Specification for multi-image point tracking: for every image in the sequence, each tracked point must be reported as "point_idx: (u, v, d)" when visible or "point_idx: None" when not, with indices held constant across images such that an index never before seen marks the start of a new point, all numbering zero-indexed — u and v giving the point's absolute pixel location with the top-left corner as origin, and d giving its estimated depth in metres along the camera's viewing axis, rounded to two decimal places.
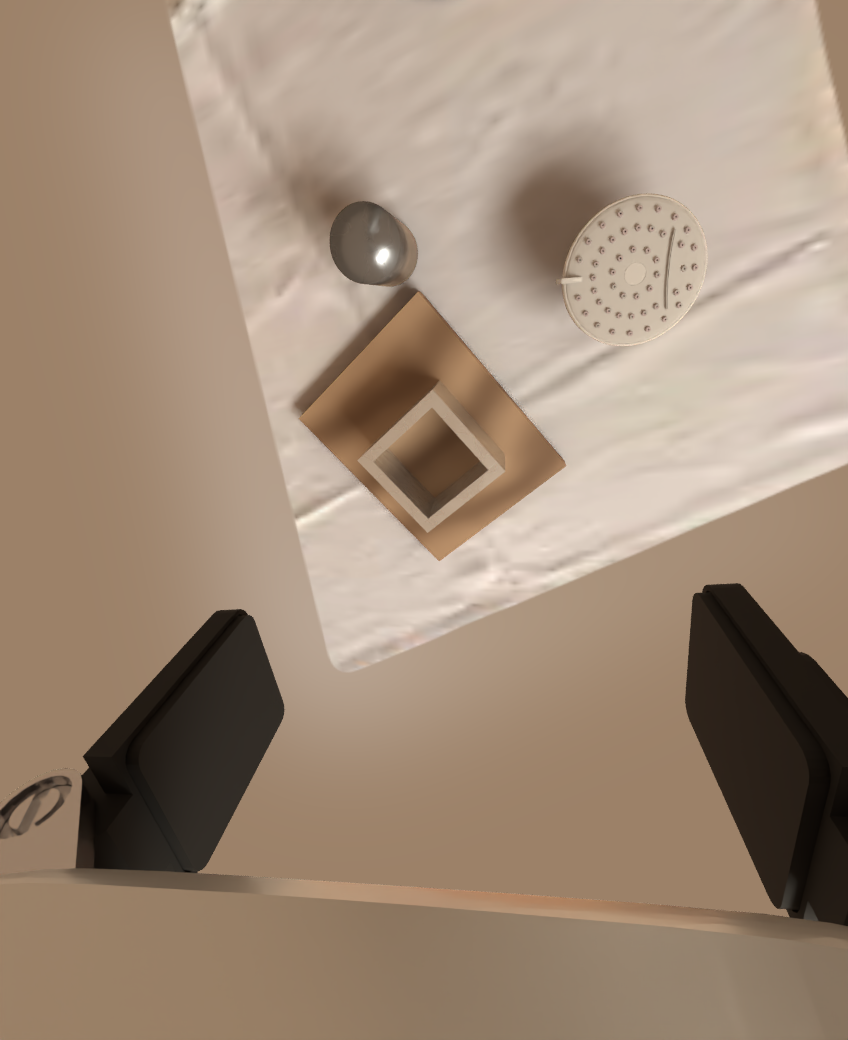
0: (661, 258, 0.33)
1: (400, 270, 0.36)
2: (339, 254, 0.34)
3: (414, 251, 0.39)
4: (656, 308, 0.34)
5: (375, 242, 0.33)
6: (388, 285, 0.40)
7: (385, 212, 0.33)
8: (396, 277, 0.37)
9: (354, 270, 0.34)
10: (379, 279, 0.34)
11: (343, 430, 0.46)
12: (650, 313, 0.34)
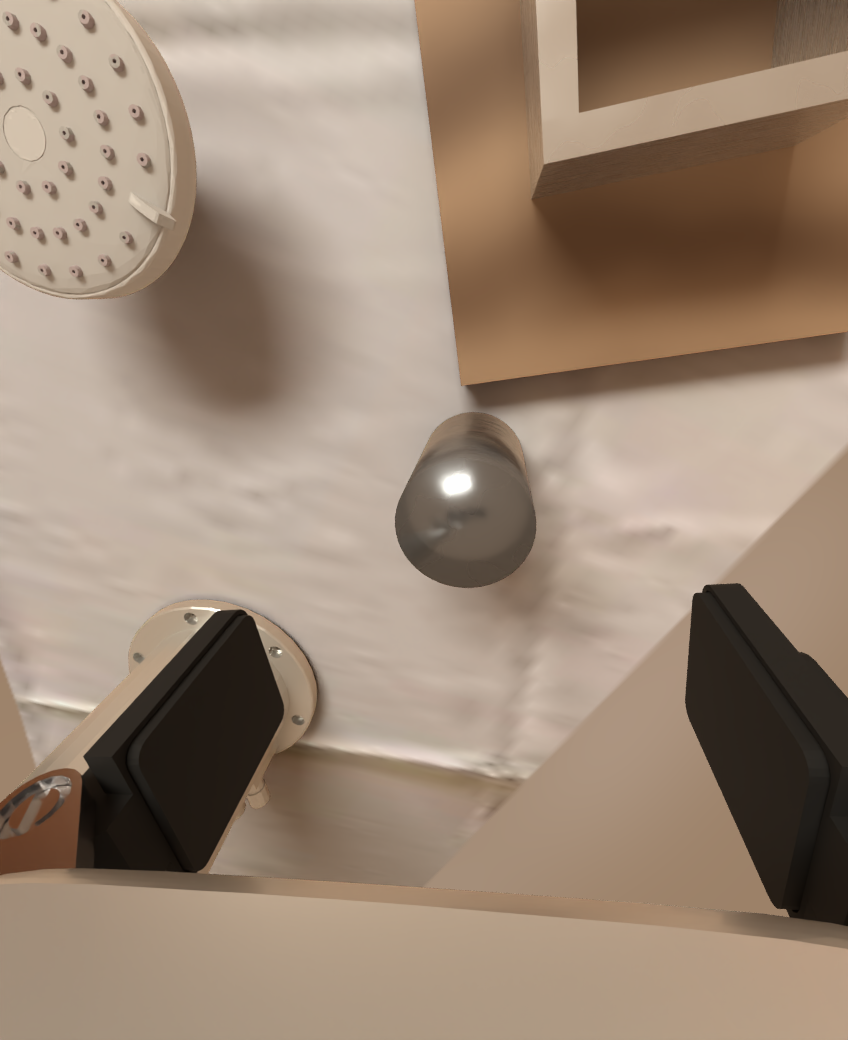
0: None
1: (450, 441, 0.19)
2: (517, 543, 0.17)
3: (428, 441, 0.23)
4: None
5: (444, 516, 0.17)
6: (497, 428, 0.21)
7: (400, 539, 0.18)
8: (467, 434, 0.19)
9: (511, 505, 0.17)
10: (480, 463, 0.16)
11: (816, 229, 0.18)
12: (0, 12, 0.14)
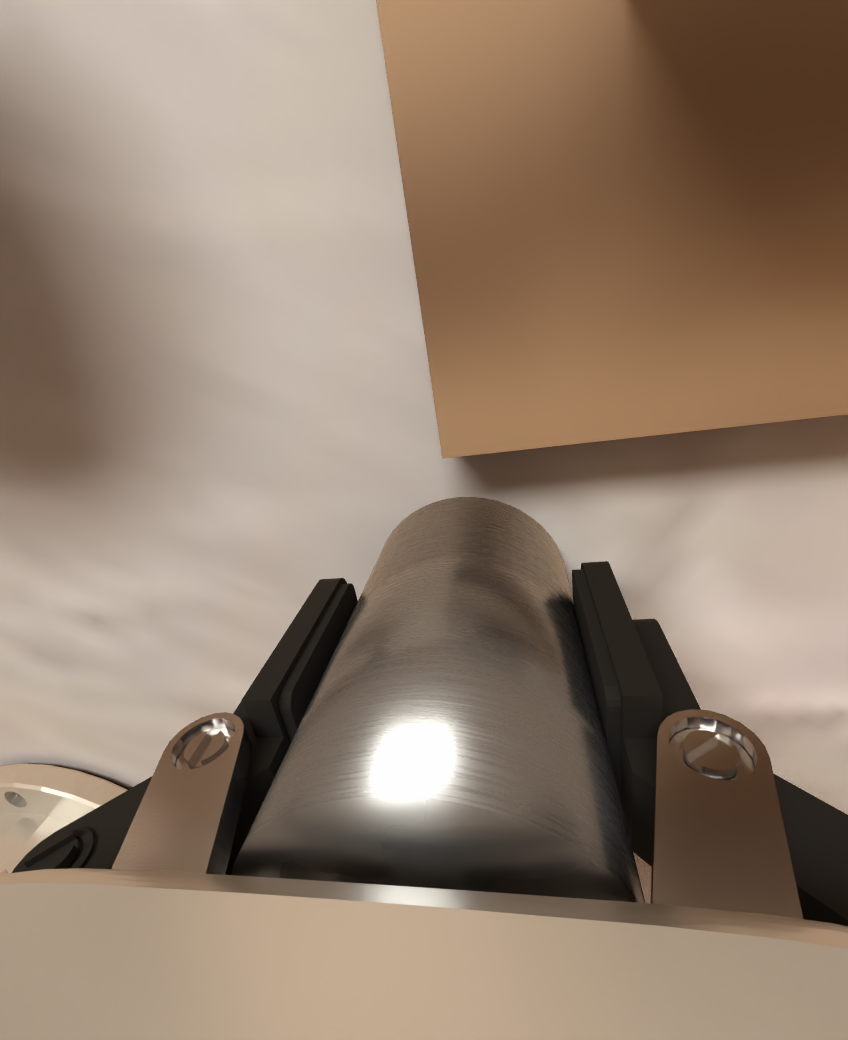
0: None
1: (404, 628, 0.07)
2: None
3: (378, 563, 0.11)
4: None
5: None
6: (520, 551, 0.10)
7: None
8: (448, 602, 0.08)
9: None
10: (476, 814, 0.05)
11: None
12: None
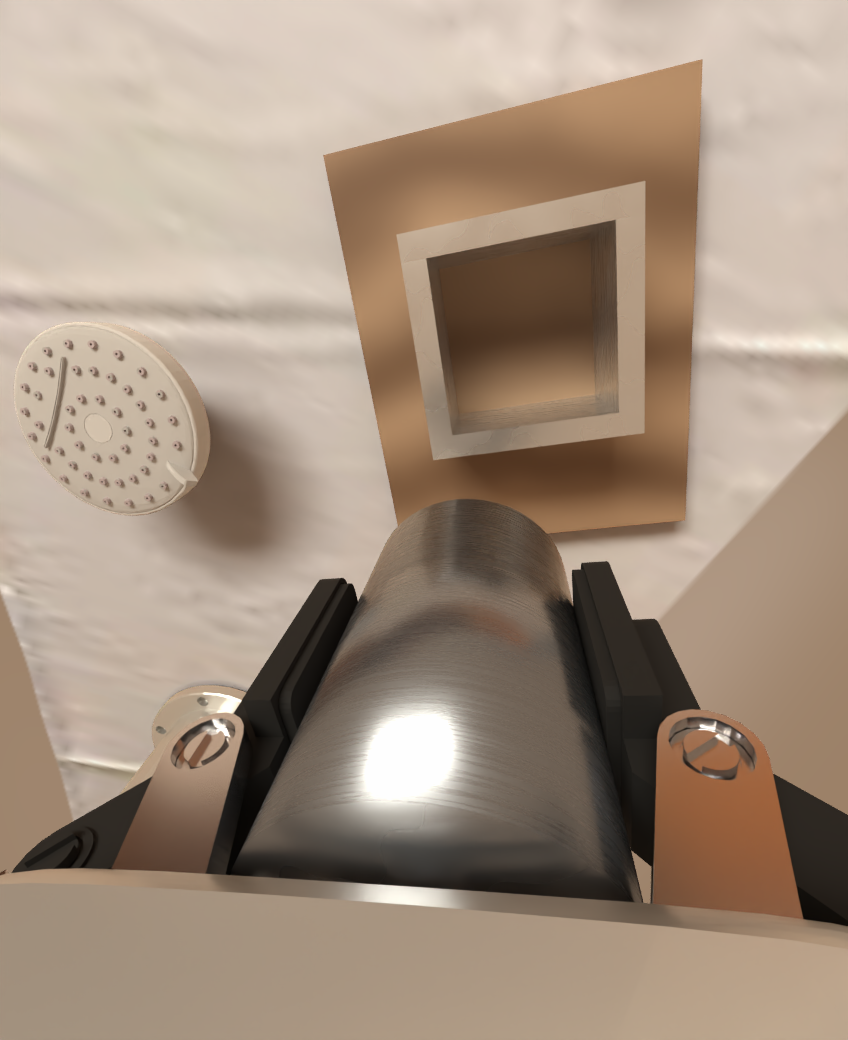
0: (63, 425, 0.23)
1: (403, 631, 0.07)
2: None
3: (377, 565, 0.11)
4: (75, 367, 0.22)
5: None
6: (519, 553, 0.10)
7: None
8: (448, 604, 0.08)
9: None
10: (476, 818, 0.05)
11: (637, 459, 0.26)
12: (86, 364, 0.22)
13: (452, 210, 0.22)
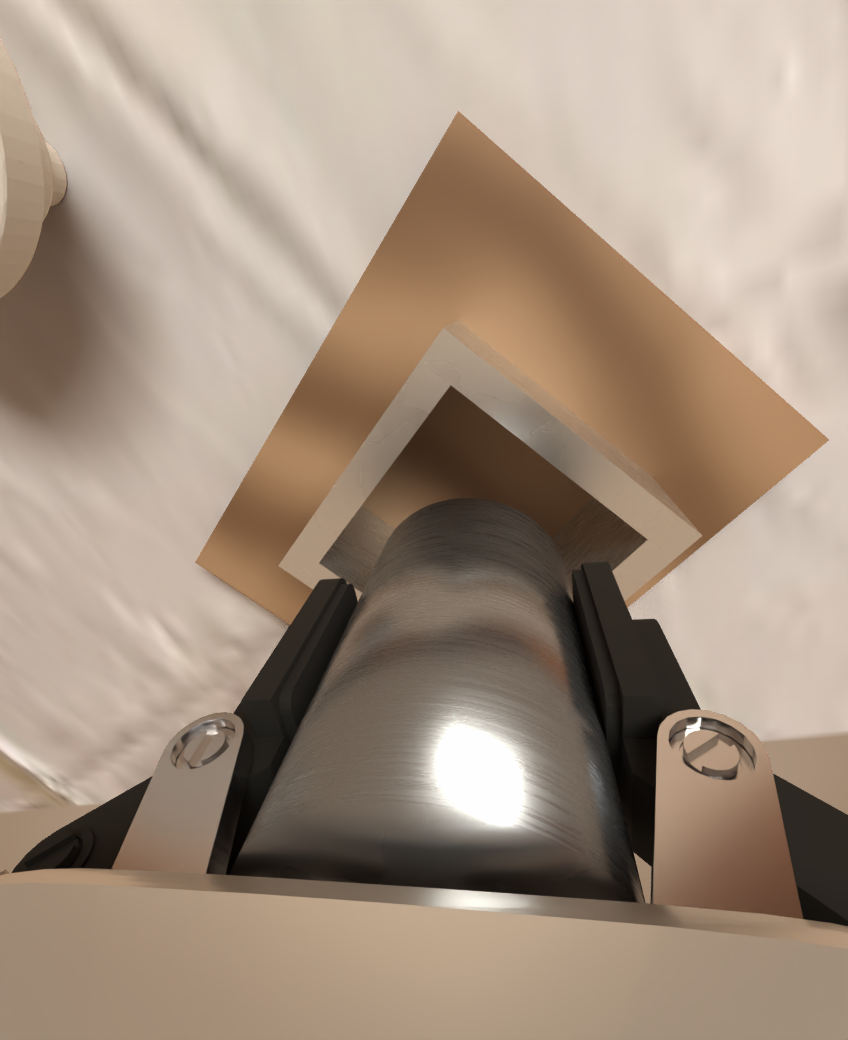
0: None
1: (403, 630, 0.07)
2: None
3: (377, 564, 0.11)
4: None
5: None
6: (520, 552, 0.10)
7: None
8: (448, 603, 0.08)
9: None
10: (477, 818, 0.05)
11: None
12: None
13: (528, 325, 0.16)
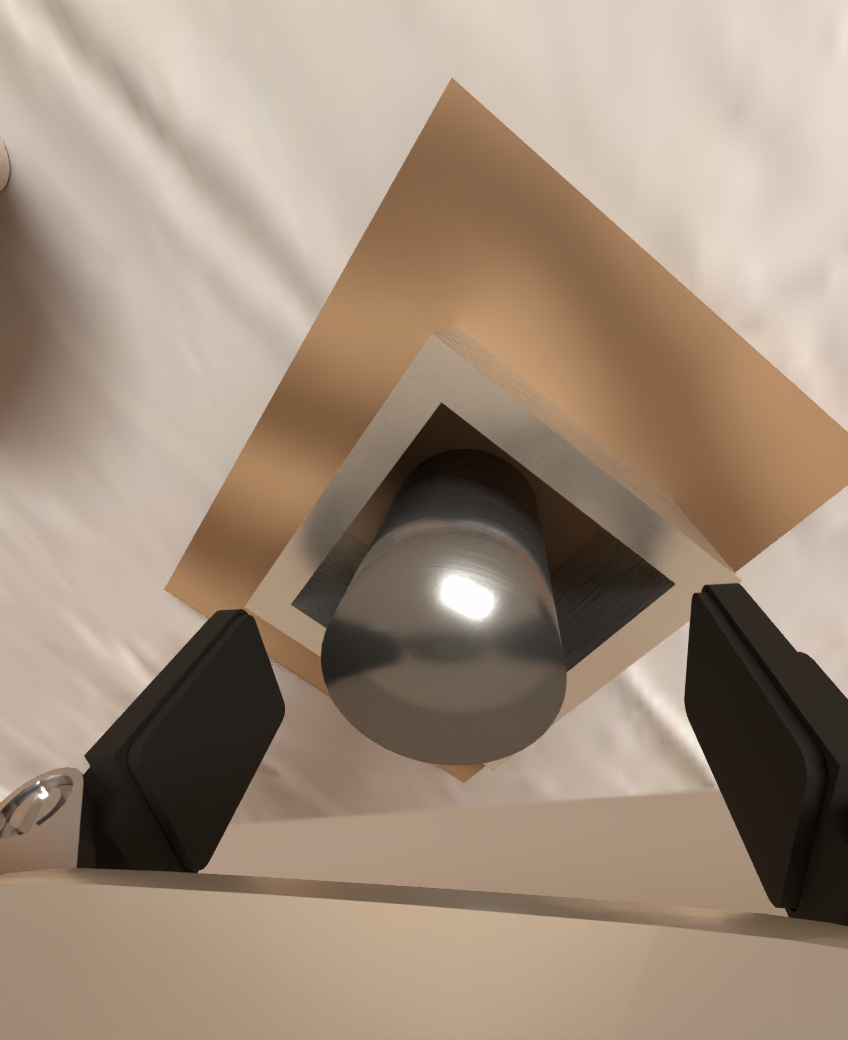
0: None
1: (421, 514, 0.11)
2: (532, 708, 0.10)
3: (397, 495, 0.15)
4: None
5: (405, 660, 0.10)
6: (500, 480, 0.14)
7: (332, 690, 0.10)
8: (449, 501, 0.12)
9: (521, 649, 0.09)
10: (465, 578, 0.09)
11: None
12: None
13: (533, 328, 0.14)
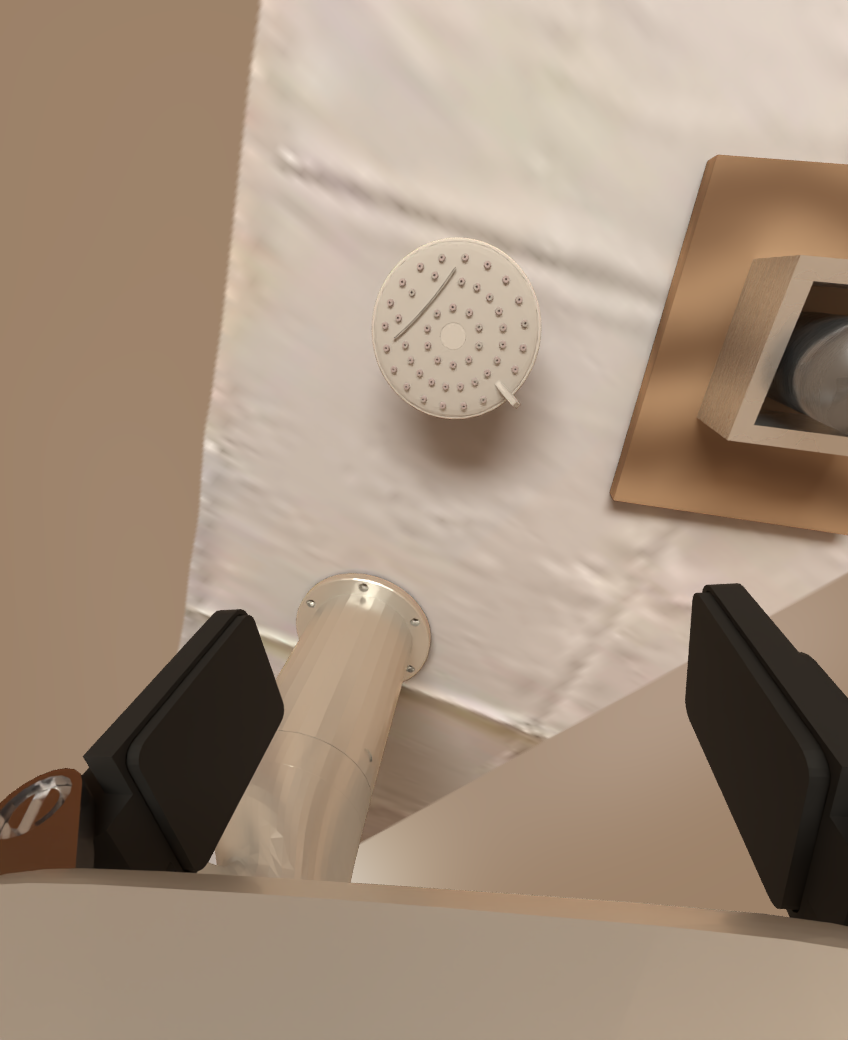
0: (422, 325, 0.26)
1: (818, 336, 0.24)
2: None
3: None
4: (463, 279, 0.25)
5: None
6: (828, 314, 0.26)
7: (829, 419, 0.23)
8: (825, 326, 0.24)
9: None
10: None
11: (842, 479, 0.31)
12: (471, 279, 0.25)
13: (801, 236, 0.26)
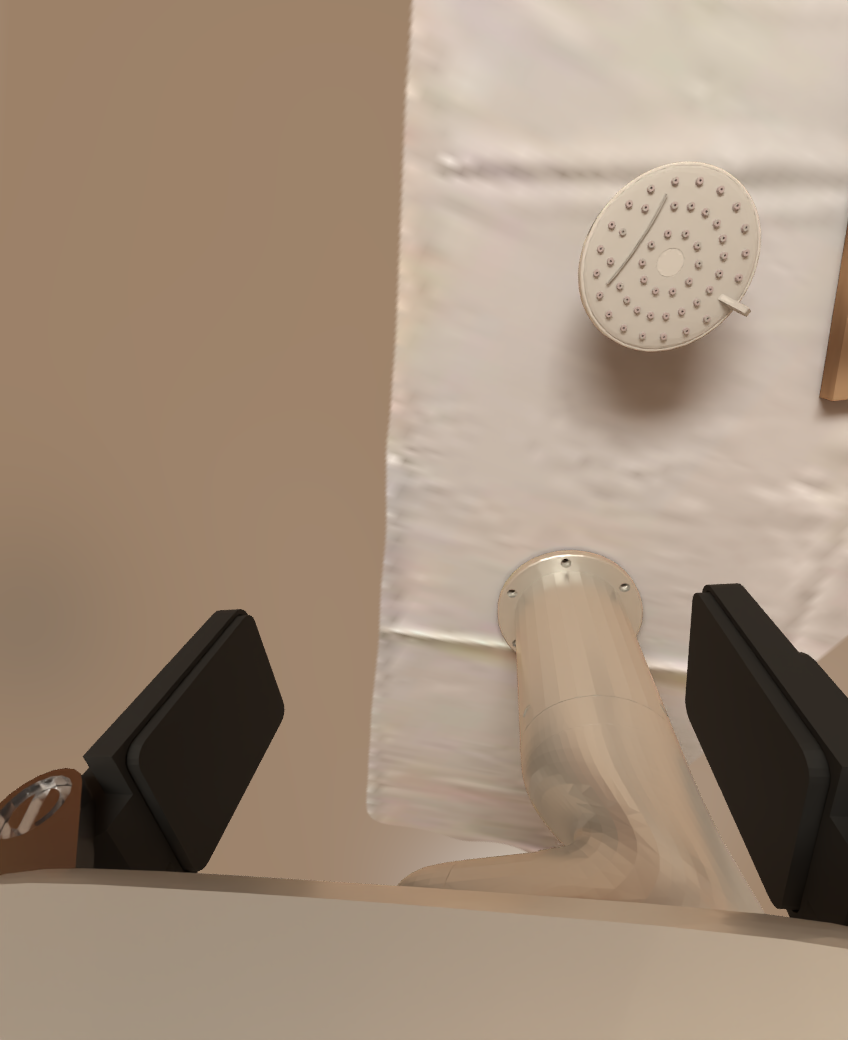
0: (636, 260, 0.27)
1: None
2: None
3: None
4: (676, 203, 0.26)
5: None
6: None
7: None
8: None
9: None
10: None
11: None
12: (684, 201, 0.26)
13: None
